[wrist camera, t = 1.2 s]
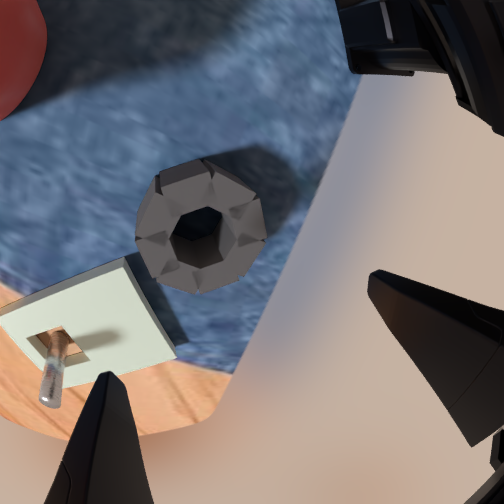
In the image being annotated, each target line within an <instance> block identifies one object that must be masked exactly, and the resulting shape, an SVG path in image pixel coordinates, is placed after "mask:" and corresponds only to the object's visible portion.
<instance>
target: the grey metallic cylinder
mask: <svg viewBox="0 0 504 504" xmlns="http://www.w3.org/2000/svg"><path fill="white" fill-rule="evenodd" d="M68 345H69V339H68V337H67V336H66V335H65V334H63V333H61V332H53V333H52V334H51V338H50V342H49V346H48V351H47V355H46V360H45V365H44V370H43V375H42V381H41V387H40V394H39V401H40V402H41V403H42V404H43V405H45V406H47V407H50V408H59V407H60V406H61V395H62V385H63V377H64V370H65V363H66V356H67V350H68Z"/></svg>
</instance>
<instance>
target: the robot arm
mask: <svg viewBox="0 0 504 504" xmlns="http://www.w3.org/2000/svg"><path fill="white" fill-rule="evenodd" d="M335 2H336V6H337V11H338V15H339V19H340V23H341V28H342V33H343V38H344V43H345V48H346V53H347V59H348V65H349V69H350V71H351V72H352V73H353V74H378V75H379V74H380V75H399V76H400V75H401V76H413V75H414V71H425V72H426V71H427V72H436V73H444V74H448V75H449V78H450V80H451V83H452V85H453V88H454V91H455V93H456V100H457V102H458V105H459V106H461V107H463V108H464V109H466V110H468V111H469V112H471V113H473V114H474V115H476V116H478V117H479V118H481V119H482V120H483V121H485V122H486V123H487V124H489V125H490V126H492V130H493V132H495V133H496V134H499V135H501V136H503V137H504V0H335ZM356 65H357V67H358V68H357V69H356V67H355V66H356ZM367 292H368V296H369V298H370V299H371V301H372V303H373V304H374V306H375V307H376V309H377V311H378V312H379V314H380V315H381V317H382V319H383V320H384V322H385V324H386V325H387V327H388V328H389V330H390V331H391V332H392V334H393V335H394V336H395V338H396V339H397V340H398V342H399V343H400V344H401V346H402V347H403V348H404V350H405V351H406V352H407V354H408V355H409V356H410V358H411V359H412V361H413V362H414V363H415V365H416V366H417V367H418V369H419V370H420V372H421V373H422V374H423V376H424V377H425V378H426V380H427V381H428V383H429V384H430V386H431V387H432V389H433V390H434V391H435V393H436V394H437V396H438V397H439V399H440V400H441V402H442V403H443V405H444V406H445V408H446V409H447V410H448V412H449V414H450V415H451V417H452V418H453V420H454V421H455V423H456V424H457V426H458V428H459V429H460V431H461V432H462V434H463V435H464V437H465V439H466V440H467V442H468V444H469V445H470V446H471V447H473V446H475V445H476V444H478V443H479V442H481V441H482V440H484V439H485V438H487V437H488V436H490V435H491V434H492V433H494V432H495V431H496V430H498V429H499V428H500V429H499V430H498V431H497V432H496V433H495V434H494V436H493V441H492V450H491V457H490V464H491V465H492V467H493V468H494V470H495V473H494V474H493V475H492V476H491V477H490V478H489V479H488V480H487V481H486V482H485V483H484V484H483V485H482V486H481V487H480V489H478V490H477V492H475V493H474V494H473V495H472V496H471V497H470V498H469V499H468V500H467V501H466V502H465V503H464V504H504V311H503V310H499V309H496V308H492V307H489V306H486V305H483V304H480V303H477V302H474V301H471V300H467V299H466V298H463V297H460V296H457V295H454V294H452V293H449V292H446V291H443V290H440V289H437V288H434V287H431V286H429V285H425V284H423V283H420V282H417V281H414V280H411V279H408V278H405V277H402V276H399V275H396V274H393V273H390V272H387V271H384V270H380V269H379V270H376V271H374V272H372V273H371V274H370V275H369V281H368V289H367ZM44 504H154V502H153V499H152V495H151V491H150V488H149V484H148V480H147V476H146V472H145V468H144V463H143V459H142V454H141V449H140V445H139V439H138V434H137V429H136V425H135V421H134V418H133V414H132V410H131V406H130V403H129V398H128V394H127V390H126V387H125V385H124V384H123V382H122V381H121V380H120V379H119V378H118V377H117V376H116V375H115V374H114V373H113V372H112V371H105V372H102V373H100V374H99V375H98V377H97V379H96V381H95V383H94V385H93V388H92V390H91V392H90V394H89V396H88V398H87V400H86V403H85V405H84V407H83V409H82V412H81V414H80V416H79V418H78V421H77V423H76V425H75V428H74V430H73V432H72V435H71V437H70V440H69V442H68V445H67V447H66V450H65V452H64V455H63V458H62V461H61V463H60V465H59V468H58V471H57V474H56V476H55V479H54V481H53V484H52V486H51V488H50V491H49V493H48V495H47V498H46V500H45V502H44Z"/></svg>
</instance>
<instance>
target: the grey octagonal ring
mask: <svg viewBox="0 0 504 504" xmlns="http://www.w3.org/2000/svg"><path fill="white" fill-rule="evenodd" d="M159 173H160V178H159V177H157V176H155V177H154V179H153V181H152V182H151V184H150V186H149V188H148V190H147V193H146V195H145V197H144V199H143V201H142V203H141V205H140V207H139V209H138V212H137V221H136V230H135V243H136V245H137V247H138V249H139V251H140V254H141V256H142V258H143V260H144V262H145V264H146V266H147V268H148V271H149V273H150V275H151V277H152V278H155V277H156V280H157V282H158V283H161V284H164V285H167V286H170V287H173V288H176V289H179V290H182V291H185V292H188V293H191V294H195V293H196V292H197V290H198V289H199V292H200V294H203V293H206V292H209V291H211V290H214V289H217V288H220V287H222V286H225V285H228V284H231V283H233V282H236V281H239V278H238V275H240V276H243V277H244V276H245V274H246V273H247V271H248V270H249V268H250V267H251V265H252V264H253V262H254V261H255V259H256V258H257V256H258V255H259V253H260V252H261V250H262V249H263V247H264V245H265V244H266V243H265V241H264V240H263V239H265V238H267V234H266V228H265V223H264V218H263V213H262V207H261V202H260V198H259V197H258V196H257V195H256V193H255V192H254V191H253V190H252V189H251V188H249V187H248V186H247V185H246V184H245V183H244V182H243V181H242V180H240V179H239V178H238V177H236V176H235V175H233V174H231V173H229V172H227V171H226V170H224V169H222V168H220V167H218V166H216V165H214V164H213V163H211V162H209V161H207V160H205V159H204V161H203V163H202V162H201V161H200V160H199V159H197V160H193V161H190V162H187V163H184V164H181V165H178V166H175V167H172V168H169V169H166V170H163V171H160V172H159ZM206 206H209V207H211V208H213V209H215V210H217V211H219V212H221V213H222V218H221V219H220V221H219V223H218V224H217V226H216V228H215V230H214V231H213V233H212V234H211V235H208V236H205V237H202V238H200V239H197V240H194V241H189V240H187V239H185V238H182V237H180V236H177V235H175V234H173V233H172V232H173V230H174V228H175V226H176V224H177V222H178V220H179V218H180V216H181V215H183V214H186V213H189V212H192V211H195V210H198V209H201V208H203V207H206Z"/></svg>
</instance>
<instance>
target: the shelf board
mask: <svg viewBox="0 0 504 504" xmlns="http://www.w3.org/2000/svg"><path fill="white" fill-rule="evenodd" d="M0 325H1V326H2V328H3V329H4V330H5V331H6V333H7V334H8V335H9V336H10V337H11V339H12V340H13V341H14V342H15V343H16V344H17V345H18V347H19V348H20V349H21V350H22V351H23V352H24V353H25V354H26V355H27V356H28V358H29V359H30V360H31V361H32V362H33V363H34V364H35V365H36V366H37V367H38V368H39V369H40V370H41V371H42V372H43V370H44V365H45V360H46V355H47V351H48V349H47V348H46V347H45V345H44V344H43V343H42V342H41V341H40V340H39V339H38V337H37V336H36V334H39V333H42V332H45V331H48V330H50V329H53V328H56V327H59V326H62V327H63V328H64V329H65V331H66V332H67V333H68V334H69V336H70V337H71V338H72V339H73V341H74V342H75V343H76V344H77V345H78V346H79V348H80V349H81V350H82V351H83V352H81V353H78V354H74V355H71V356H67V357H66V363H65V370H64V377H63V385H62V389H63V388H68V387H72V386H77V385H81V384H85V383H89V382H94V381H96V379H97V377H98V375H99V374H100V373H102V372H105V371H112V372H113V373H114V374H115V375H116V376H117V375H121V374H124V373H128V372H132V371H135V370H139V369H142V368H145V367H149V366H152V365H156V364H159V363H162V362H165V361H168V360H172V359H175V358H177V356H176V351H175V346H174V345H173V343H172V342H171V340H170V338H169V337H168V335H167V333H166V332H165V330H164V329H163V327H162V325H161V324H160V322H159V320H158V318H157V317H156V315H155V313H154V312H153V310H152V308H151V306H150V305H149V303H148V301H147V299H146V297H145V296H144V294H143V292H142V290H141V288H140V286H139V285H138V283H137V281H136V279H135V277H134V275H133V273H132V271H131V269H130V267H129V265H128V263H127V261H126V259H125V257H122V258H120V259H117V260H114V261H112V262H109V263H107V264H104V265H102V266H99V267H96V268H94V269H91V270H89V271H86V272H84V273H81V274H79V275H77V276H74V277H72V278H69V279H67V280H64V281H62V282H60V283H57V284H55V285H52V286H50V287H48V288H45V289H43V290H41V291H38V292H36V293H34V294H31V295H29V296H27V297H24V298H22V299H20V300H18V301H15V302H13V303H11V304H9V305H7V306H4V307H2V308H0Z"/></svg>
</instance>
